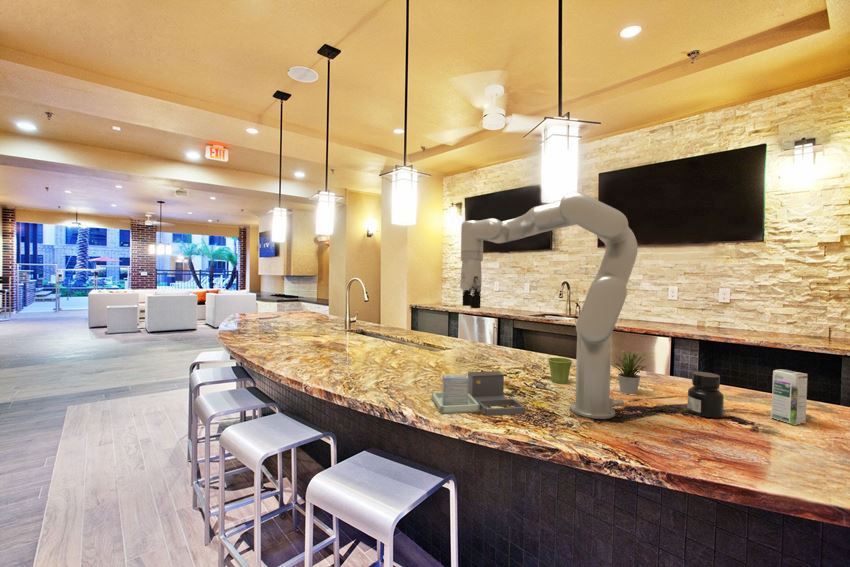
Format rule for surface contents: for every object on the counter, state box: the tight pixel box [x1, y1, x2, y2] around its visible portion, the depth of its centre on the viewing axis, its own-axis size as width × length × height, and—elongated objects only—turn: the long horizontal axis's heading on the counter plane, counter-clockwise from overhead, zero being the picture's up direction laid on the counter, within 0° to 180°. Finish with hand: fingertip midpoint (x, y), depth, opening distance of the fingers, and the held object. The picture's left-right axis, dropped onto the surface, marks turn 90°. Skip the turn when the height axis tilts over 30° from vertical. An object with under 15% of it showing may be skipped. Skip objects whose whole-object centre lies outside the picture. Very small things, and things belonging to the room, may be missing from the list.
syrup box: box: [770, 368, 808, 426], centre depth 112 cm, size 6×6×14 cm
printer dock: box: [467, 370, 526, 417], centre depth 124 cm, size 13×21×8 cm, turn 10°
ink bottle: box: [686, 371, 725, 419], centre depth 118 cm, size 10×9×12 cm
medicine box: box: [442, 374, 469, 405], centre depth 122 cm, size 8×4×9 cm, turn 90°
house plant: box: [612, 347, 653, 395], centre depth 137 cm, size 14×14×16 cm
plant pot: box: [547, 357, 573, 384], centre depth 151 cm, size 9×9×9 cm
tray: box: [431, 391, 481, 415], centre depth 122 cm, size 12×14×2 cm
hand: (471, 306), depth 133 cm, fingers open, 9 cm apart
